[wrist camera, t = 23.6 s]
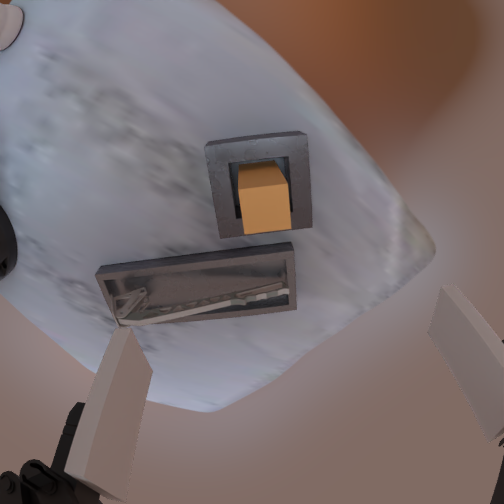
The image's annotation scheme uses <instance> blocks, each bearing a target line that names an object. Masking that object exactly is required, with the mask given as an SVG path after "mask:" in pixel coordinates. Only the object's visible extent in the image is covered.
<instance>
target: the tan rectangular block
mask: <svg viewBox="0 0 504 504" xmlns="http://www.w3.org/2000/svg"><path fill="white" fill-rule="evenodd" d="M238 192H239V199H240V206H241V213H242V220H243V227H244V234H253V233H261V232H269V231H277V230H285V229H291V217H290V204H289V192H288V183H287V181H286V180H285V178H284V176H283V174H282V173H281V171H280V169H279V167H278V166H277V164H276V162H275V160H273V161H264V162H255V163H247V164H239V173H238Z"/></svg>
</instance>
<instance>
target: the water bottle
mask: <svg viewBox="0 0 504 504" xmlns="http://www.w3.org/2000/svg"><path fill="white" fill-rule="evenodd" d="M22 21H23V13H22V10H21V9H20V8H19V7H17V6H14V5H7V4H6V5H3V4H1V3H0V51H1V50H3V49H5V48H7V47H8V46H9V45H10V44H11V43H12V42H13V41H14V39H15V38H16V36H17V35H18V33H19V31H20V28H21V25H22Z"/></svg>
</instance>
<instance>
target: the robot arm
mask: <svg viewBox="0 0 504 504" xmlns="http://www.w3.org/2000/svg"><path fill="white" fill-rule="evenodd" d="M16 258H17V246H16V240H15V235H14V232H13V229H12V226H11V224H10V221H9V219H8V217H7V216H6V214H5V212H4V211H3V209H2V208H1V206H0V280H2V279H3V278H5V277H6V276H7V275H8V274H9V273H10V271H11V270H12V269H13V268H14V266H15V263H16ZM428 334H429V336H430V338H431V339H432V341H433V342H434V344H435V346H436V347H437V349H438V351H439V352H440V354H441V355H442V357H443V359H444V360H445V362H446V364H447V366H448V367H449V369H450V371H451V373H452V374H453V376H454V378H455V380H456V381H457V383H458V385H459V387H460V388H461V390H462V392H463V394H464V396H465V398H466V399H467V401H468V403H469V405H470V407H471V409H472V411H473V413H474V415H475V417H476V419H477V421H478V423H479V425H480V427H481V429H482V431H483V433H484V436H485V438H486V440H487V442H488V443H489V442H491V441H492V440H494V439H496V438H497V437H499V436H500V435H502V434H503V433H504V340H502V341H501V340H500V339H499V337H498V336H497V335H496V333H495V332H494V331H493V330H492V328H491V327H490V326H489V324H488V323H487V322H486V321H485V319H484V318H483V317H482V316H481V315H480V313H479V312H478V311H477V310H476V309H475V307H474V306H473V305H472V304H471V303H470V301H469V300H468V299H467V298H466V297H465V296H464V295H463V293H462V292H461V291H460V290H459V289H458V288H457V287H456V285H455V284H450V285H446V286H442V287H441V289H440V293H439V296H438V300H437V303H436V307H435V311H434V314H433V317H432V320H431V323H430V326H429V330H428ZM152 372H153V371H152V369H151V367H150V365H149V363H148V361H147V359H146V357H145V355H144V353H143V351H142V349H141V348H140V345H139V343H138V341H137V339H136V337H135V335H134V333H133V331H132V329H131V328H123V329H115V331H114V333H113V335H112V338H111V340H110V342H109V345H108V347H107V350H106V352H105V354H104V357H103V359H102V362H101V364H100V367H99V369H98V372H97V374H96V377H95V379H94V382H93V385H92V387H91V390H90V393H89V395H88V398H87V401H86V403H81V402H77V403H76V405H75V406H74V407H73V408H72V410H71V411H70V412H69V415H68V418H67V420H66V426H64V429H63V434H62V435H61V438H60V441H59V444H58V447H57V450H56V453H55V456H54V459H53V463H52V465H51V468H49V467H48V466H46V465H45V464H43V463H42V462H41V461H40V460H35V459H33V460H29V461H27V462H26V463H25V464H24V465H23V466H22V468H21V470H20V475H19V476H20V477H19V476H18V475H16V474H14V473H13V472H12V471H6V472H4V473H2V474H1V476H0V504H102V503H101V501H100V500H99V496H100V495H102V496H104V497H106V498H107V499H111V500H116V501H121V502H126V500H127V493H128V487H129V481H130V475H131V470H132V464H133V459H134V454H135V448H136V443H137V438H138V433H139V429H140V424H141V419H142V414H143V410H144V406H145V401H146V397H147V393H148V389H149V384H150V380H151V376H152ZM503 443H504V438H503V439H502V440H501V441H500V443H499V446H501V445H502V444H503ZM503 447H504V446H503ZM490 504H504V456H503V461H502V465H501V469H500V473H499V477H498V480H497V484H496V487H495V490H494V494H493V497H492V500H491V503H490Z"/></svg>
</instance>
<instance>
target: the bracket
mask: <svg viewBox="0 0 504 504" xmlns="http://www.w3.org/2000/svg"><path fill="white" fill-rule="evenodd" d="M278 288H280V289H278ZM143 289H144V291H145V292H141V290H143ZM275 289H277V290H275ZM267 291H268V292H267ZM140 292H141V293H140ZM129 294H132V295H129ZM146 294H147V291H146V288H145V287H143V288H140V289H137V290H133V291H131V292H129V293H126V294H123V295H120V296H116V297H113V296H112V294H110V296H111V308H112V314H113V317H114V319H115V321H116V323H117V326H118V328H119V329H121V327H122V328H126V327H129V326H130V325H135V326H143V325H148V324H152V323H157V322H161V321H166V320H171V319H175V318H179V317H184V316H188V315H193V314H197V313H201V312H205V311H210V310H214V309H218V308H222V307H226V306H230V305H246V303H247V302H250V301H257V300H260V299H268V298H270V297H274V296H279V295H282V294H289V286H288V285H287V284H286V283H284V282H283V281H279V282H275V283H271V284H267V285H262V286H258V287H254V288H249V289H245V290H241V291H236V292H232V293H227V294H223V295H218V296H214V297H209V298H204V299H200V300H195V301H190V302H186V303H181V304H176V305H171V306H166V307H161V308H156V309H151V310H144V309H145V308H146V307H147V306H148V304H149V303H150V300H149V296H146V297H144V296H145V295H146ZM139 295H142V296H141V297H140V298H139V299H137V298H138V296H139ZM127 298H130V299H129V300H128V302H127V303H126V304H123V305H120V306H117V305H116V300H120V299H127ZM136 299H137V300H136ZM144 299H147V300H148V301H145V302H144ZM133 303H134V304H133ZM143 304H145V306H144V307H143V308H142V309H141V310H139V309H140V307H141V306H142V305H143ZM129 308H130V309H129ZM138 310H139V311H138ZM130 311H131V312H130Z"/></svg>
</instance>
